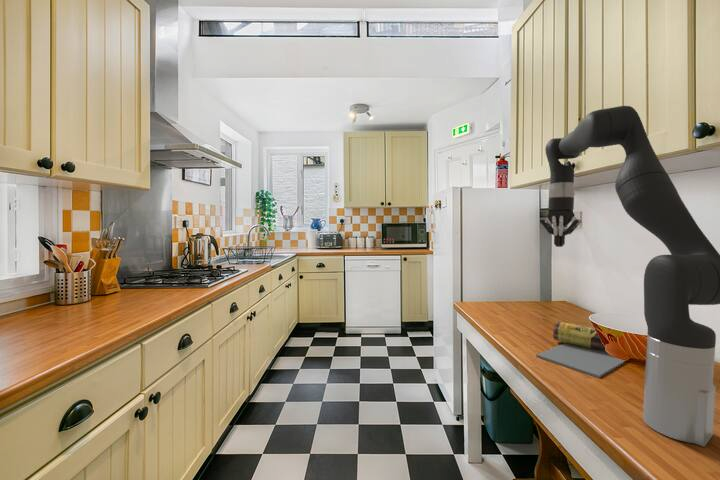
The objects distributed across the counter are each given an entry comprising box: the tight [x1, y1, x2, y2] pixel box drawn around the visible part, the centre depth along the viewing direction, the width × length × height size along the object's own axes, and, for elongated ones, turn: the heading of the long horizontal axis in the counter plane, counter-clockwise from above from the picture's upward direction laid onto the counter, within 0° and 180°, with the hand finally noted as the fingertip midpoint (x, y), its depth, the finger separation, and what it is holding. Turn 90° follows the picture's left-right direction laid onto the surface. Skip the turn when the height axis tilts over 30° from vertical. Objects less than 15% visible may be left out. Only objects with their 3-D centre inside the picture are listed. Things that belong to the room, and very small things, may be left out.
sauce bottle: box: [552, 321, 605, 350], centre depth 104 cm, size 7×6×20 cm
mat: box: [535, 342, 626, 379], centre depth 97 cm, size 16×22×1 cm
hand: (559, 246), depth 116 cm, fingers closed
